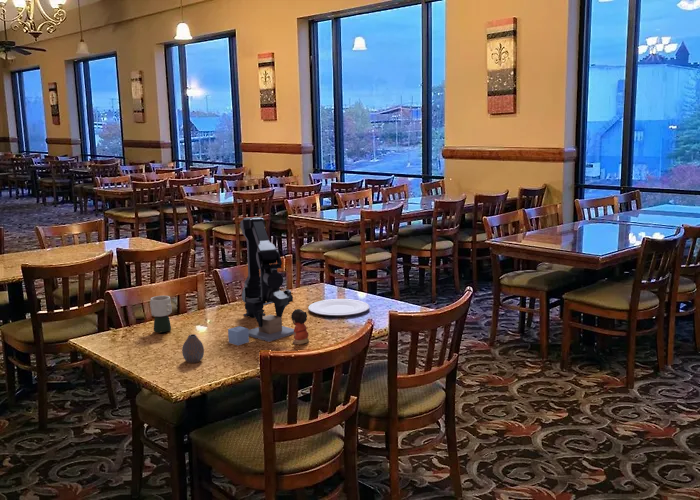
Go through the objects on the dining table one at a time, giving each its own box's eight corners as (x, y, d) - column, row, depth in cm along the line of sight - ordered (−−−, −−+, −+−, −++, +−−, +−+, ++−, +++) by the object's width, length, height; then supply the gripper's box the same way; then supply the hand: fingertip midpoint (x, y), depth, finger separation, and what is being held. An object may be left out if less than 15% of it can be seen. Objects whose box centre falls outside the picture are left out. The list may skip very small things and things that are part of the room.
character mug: (180, 331, 263) (178, 297, 261) (165, 336, 257) (163, 301, 255) (159, 327, 269) (157, 293, 266) (145, 332, 263) (142, 298, 261)
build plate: (243, 334, 258) (243, 331, 258) (272, 325, 268) (271, 323, 268) (268, 341, 249) (268, 339, 249) (297, 332, 259) (297, 330, 259)
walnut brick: (258, 331, 258) (258, 317, 257) (271, 327, 263) (270, 314, 262) (269, 334, 254) (269, 320, 253) (282, 330, 259) (281, 317, 258)
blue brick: (228, 342, 249) (228, 329, 248) (239, 339, 253) (239, 326, 252) (237, 345, 246) (237, 331, 245) (248, 342, 249) (248, 328, 248)
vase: (184, 358, 234) (182, 332, 232) (205, 357, 234) (204, 331, 233) (181, 365, 227) (179, 339, 225) (203, 364, 227) (201, 338, 226)
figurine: (312, 340, 250) (311, 307, 248) (306, 345, 245) (305, 311, 242) (295, 339, 252) (294, 306, 250) (289, 343, 247) (288, 310, 244)
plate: (380, 307, 292) (380, 303, 292) (348, 322, 272) (348, 318, 271) (330, 300, 306) (330, 296, 305) (295, 314, 285) (295, 309, 284)
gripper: (263, 290, 243) (265, 334, 246) (302, 281, 257) (303, 322, 260) (242, 286, 250) (244, 328, 253) (281, 276, 264) (283, 317, 267)
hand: (270, 324), depth 258 cm, fingers open, 8 cm apart
